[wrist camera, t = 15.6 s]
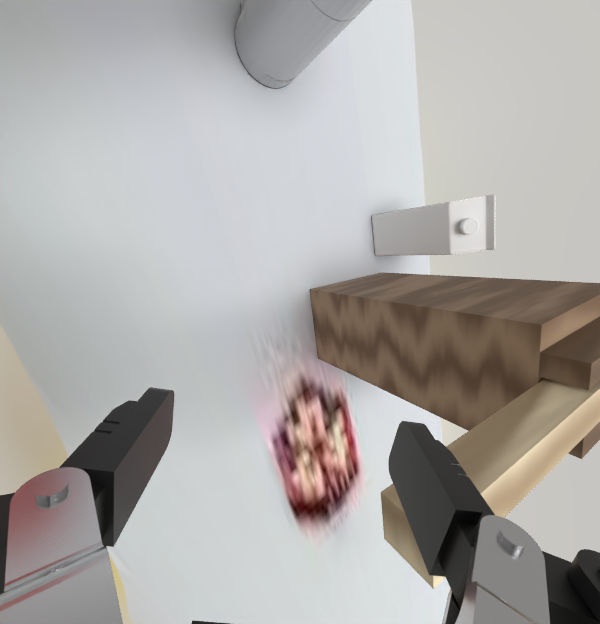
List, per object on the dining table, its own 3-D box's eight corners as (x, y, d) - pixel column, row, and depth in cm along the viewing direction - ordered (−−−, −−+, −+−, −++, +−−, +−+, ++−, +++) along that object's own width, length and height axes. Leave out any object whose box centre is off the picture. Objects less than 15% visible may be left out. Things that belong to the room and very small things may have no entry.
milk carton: (398, 210, 58) (509, 191, 42) (401, 249, 60) (508, 245, 43) (370, 215, 54) (478, 196, 38) (374, 255, 56) (479, 254, 40)
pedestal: (309, 289, 50) (595, 332, 20) (381, 272, 58) (665, 286, 28) (318, 358, 53) (578, 483, 23) (385, 333, 61) (647, 404, 31)
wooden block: (380, 492, 16) (432, 536, 13) (579, 354, 27) (627, 363, 25) (384, 538, 17) (433, 589, 14) (576, 385, 28) (623, 397, 25)
